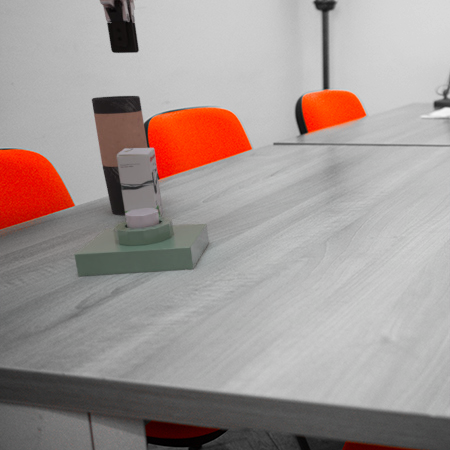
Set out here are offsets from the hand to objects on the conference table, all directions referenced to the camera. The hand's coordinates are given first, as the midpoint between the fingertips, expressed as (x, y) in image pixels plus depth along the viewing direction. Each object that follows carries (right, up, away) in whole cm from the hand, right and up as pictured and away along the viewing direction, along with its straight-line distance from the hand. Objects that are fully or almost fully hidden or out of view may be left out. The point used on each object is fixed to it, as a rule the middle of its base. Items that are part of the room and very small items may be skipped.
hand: (125, 52), depth 80 cm
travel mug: (-10, -22, +23) cm, 33 cm away
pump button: (+4, -25, -4) cm, 25 cm away
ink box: (-4, -24, +16) cm, 29 cm away
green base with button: (+4, -29, -3) cm, 29 cm away
